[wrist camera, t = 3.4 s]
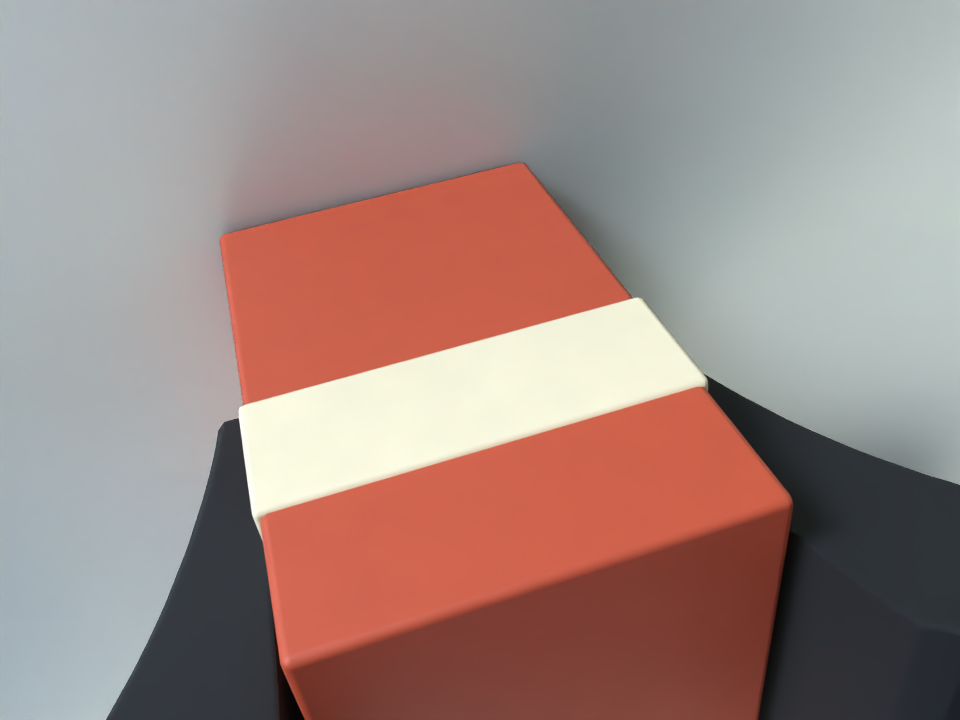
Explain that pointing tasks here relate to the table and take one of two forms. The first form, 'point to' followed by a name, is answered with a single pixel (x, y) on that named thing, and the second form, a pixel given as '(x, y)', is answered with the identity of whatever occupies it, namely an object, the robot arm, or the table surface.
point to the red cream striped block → (492, 471)
